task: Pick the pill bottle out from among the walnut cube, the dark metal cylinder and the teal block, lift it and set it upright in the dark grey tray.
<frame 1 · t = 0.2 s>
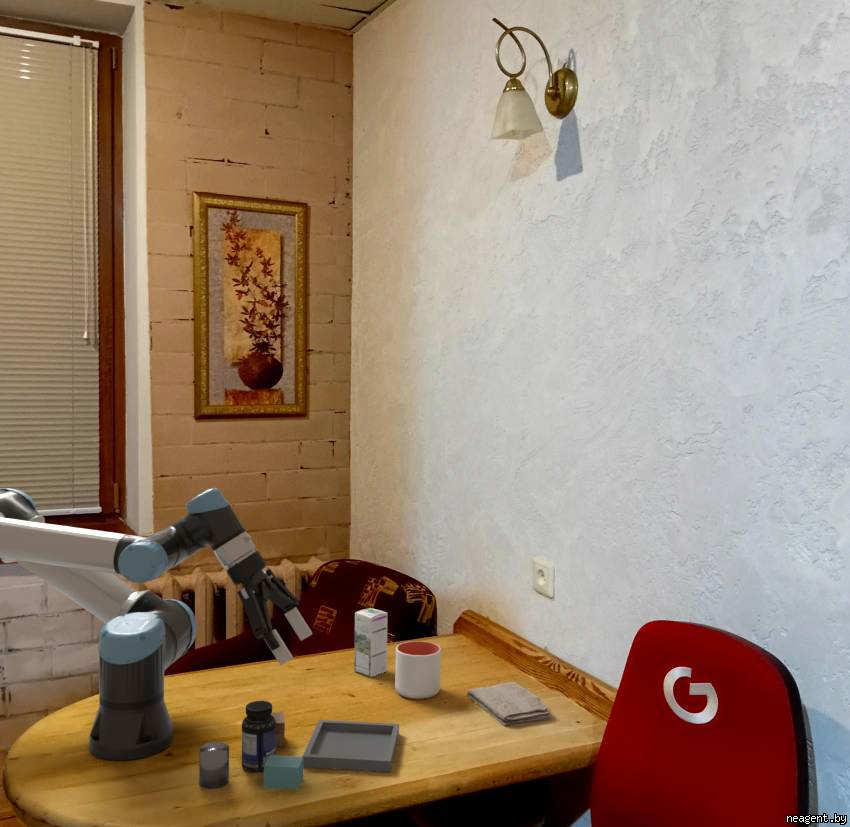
hand: (297, 649, 173), 15 cm above the table, tool tilted 35°, fingers open, 13 cm apart
washcloth: (508, 710, 185), on the table
syrup box: (370, 672, 204), on the table
cup: (417, 693, 192), on the table
metal cylinder: (214, 781, 149), on the table
tray: (352, 749, 163), on the table
pill bottle: (258, 766, 156), on the table
walnut cube: (270, 743, 165), on the table
teal block: (283, 783, 150), on the table
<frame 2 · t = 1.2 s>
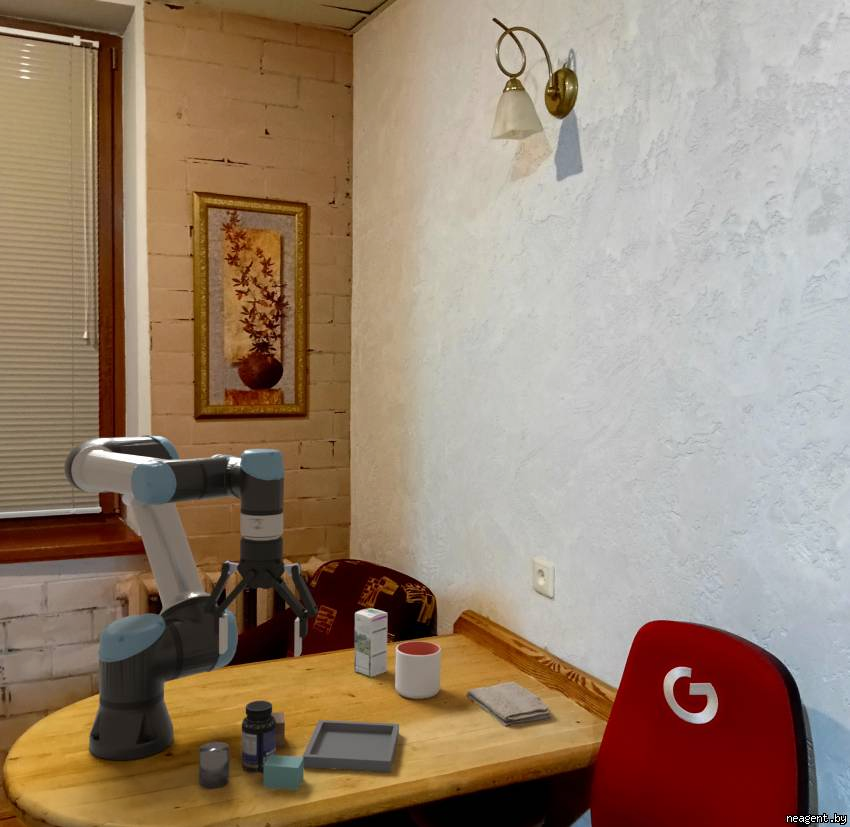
hand: (260, 653, 155), 21 cm above the table, tool pointing down, fingers open, 13 cm apart
nothing on the table moved.
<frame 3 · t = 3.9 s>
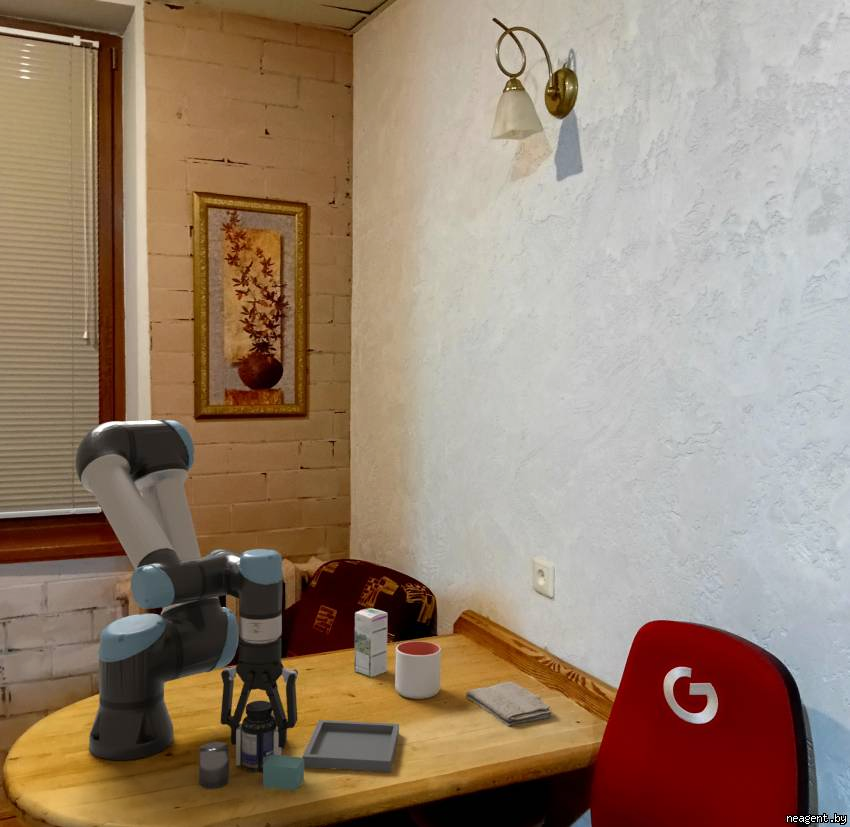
hand: (258, 762, 156), 0 cm above the table, tool pointing down, fingers closed on pill bottle, 6 cm apart
pill bottle: (258, 765, 156), on the table, touching gripper
everything else where it was.
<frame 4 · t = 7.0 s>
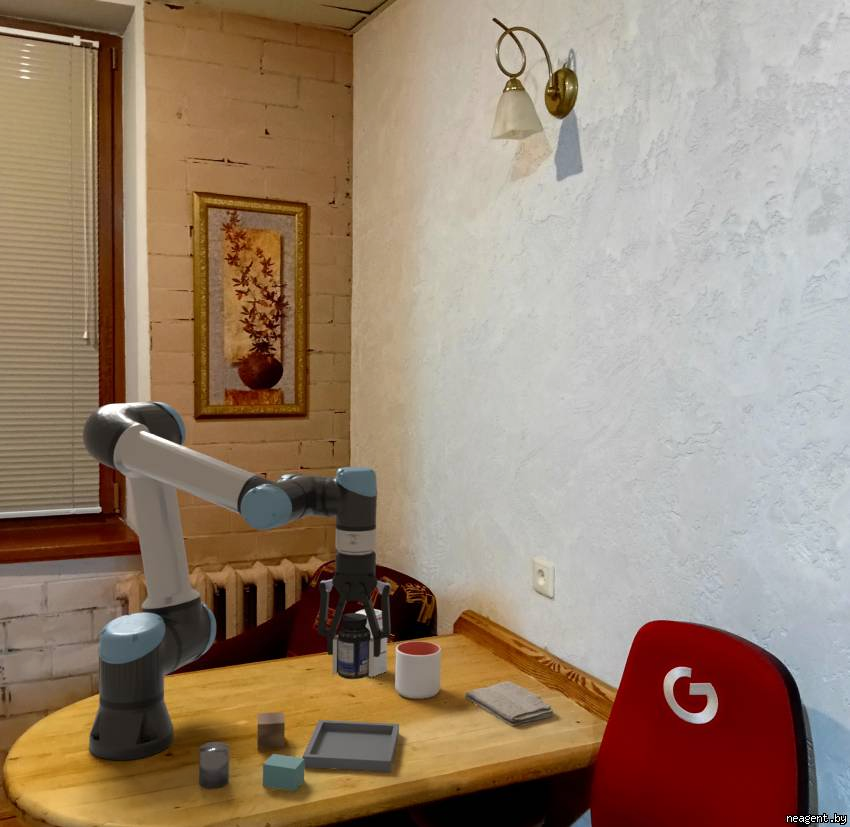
hand: (353, 672, 162), 15 cm above the table, tool pointing down, fingers closed on pill bottle, 6 cm apart
pill bottle: (353, 675, 162), point 14 cm above the table, touching gripper
everything else where it was.
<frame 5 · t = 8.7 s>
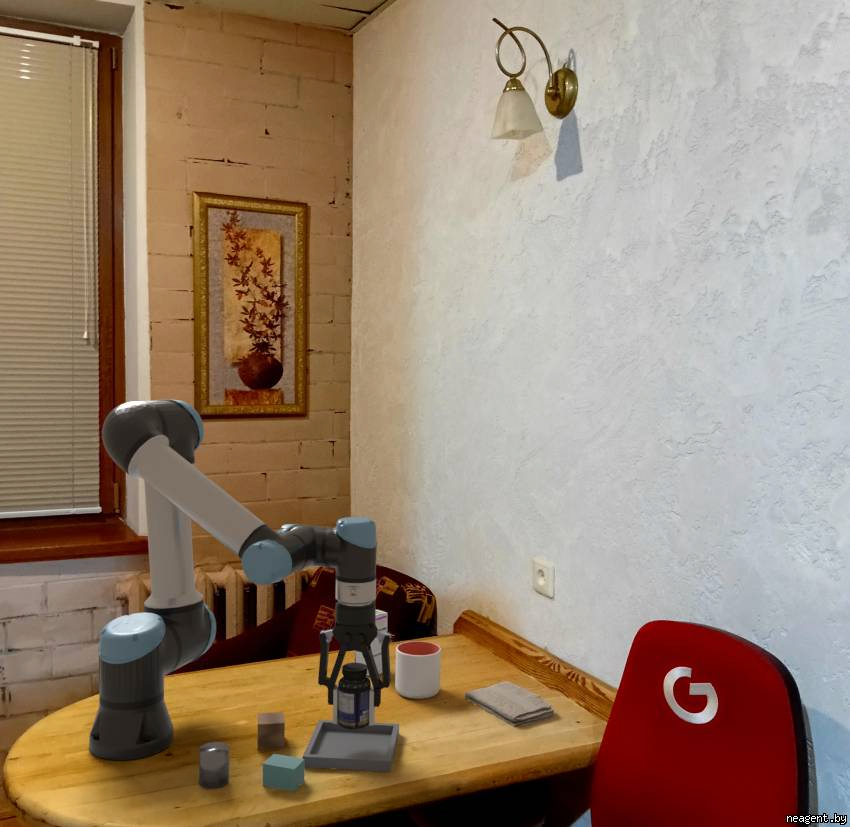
hand: (354, 721, 163), 5 cm above the table, tool pointing down, fingers closed on pill bottle, 6 cm apart
pill bottle: (353, 724, 162), point 5 cm above the table, touching gripper
everything else where it was.
when the fingers open (2 cm above the table, at t = 10.1 s): pill bottle drops 1 cm, resting on tray.
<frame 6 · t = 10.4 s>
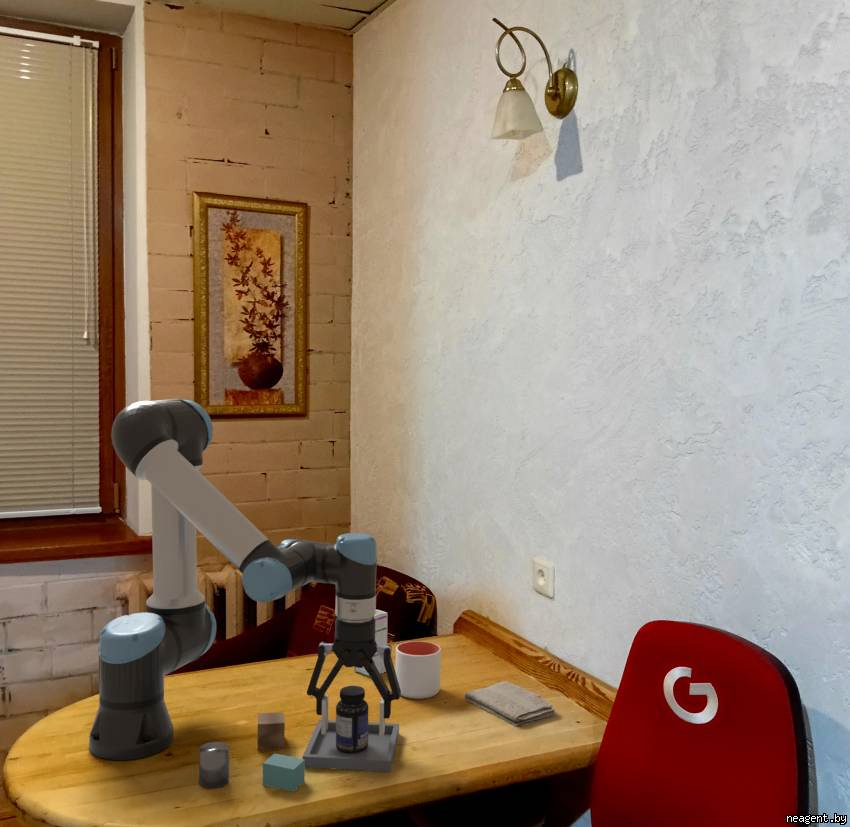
hand: (353, 732, 163), 3 cm above the table, tool pointing down, fingers open, 10 cm apart
pill bottle: (351, 747, 163), resting on tray
everything else where it was.
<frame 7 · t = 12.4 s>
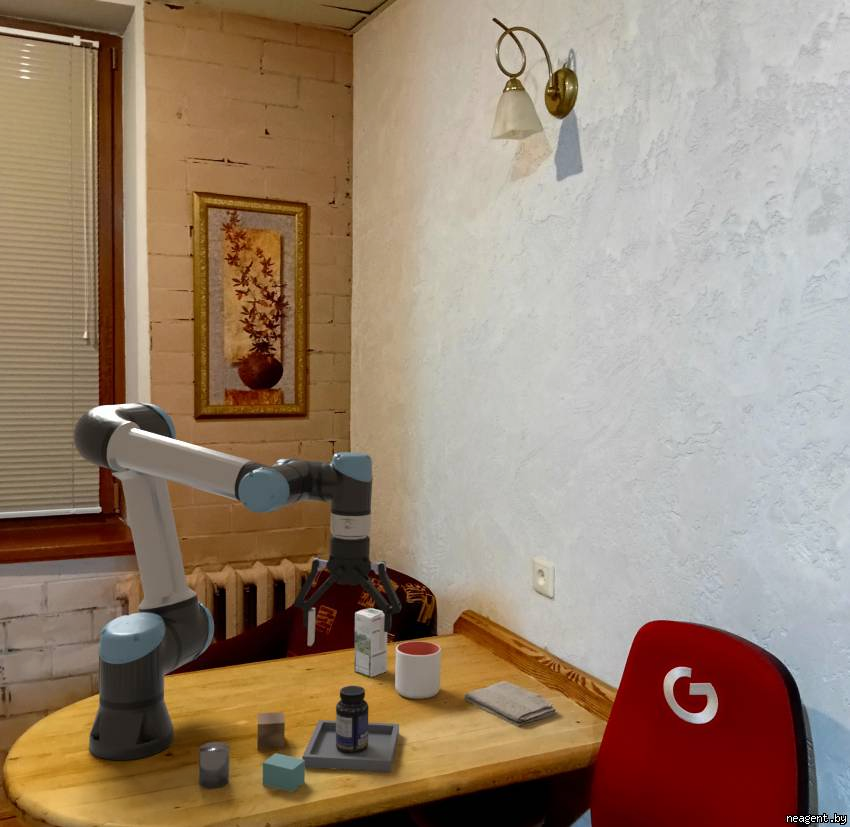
hand: (346, 646, 163), 19 cm above the table, tool pointing down, fingers open, 13 cm apart
nothing on the table moved.
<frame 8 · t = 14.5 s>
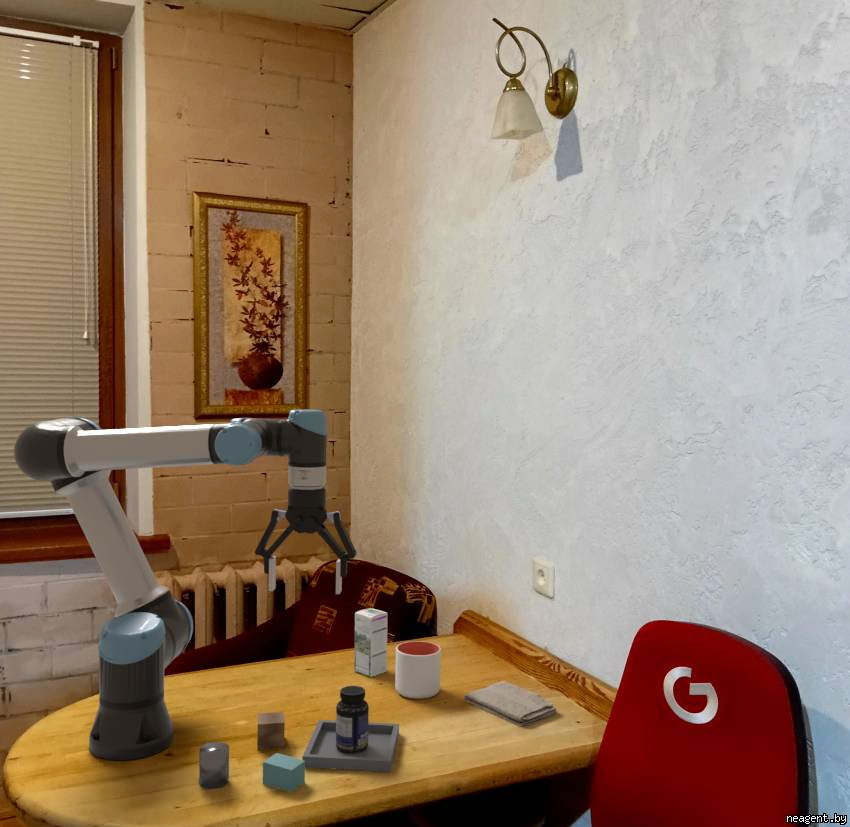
hand: (305, 591, 174), 27 cm above the table, tool pointing down, fingers open, 13 cm apart
at the end: pill bottle inside the target area on the tray (0.2 cm from its centre), point 0.3 cm above the tray's base; pill bottle tilted 0°; the gripper is holding nothing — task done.
